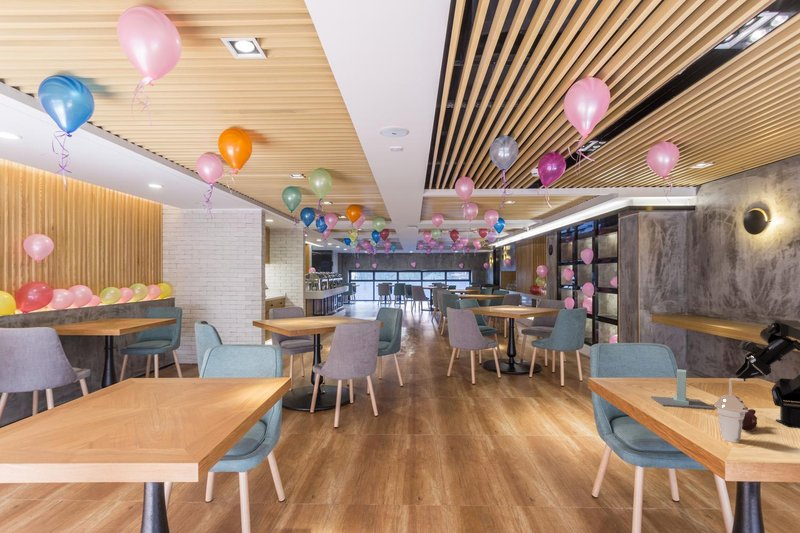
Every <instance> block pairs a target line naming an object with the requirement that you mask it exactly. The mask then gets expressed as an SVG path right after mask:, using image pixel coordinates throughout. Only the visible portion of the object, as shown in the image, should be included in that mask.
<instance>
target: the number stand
mask: <svg viewBox="0 0 800 533" xmlns="http://www.w3.org/2000/svg"><path fill="white" fill-rule="evenodd" d="M673 398H674V403H678V404H685V405H689V399H690V398H689V397H687V369H679V368H678V369H677V370H676V395H674V397H673Z"/></svg>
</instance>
